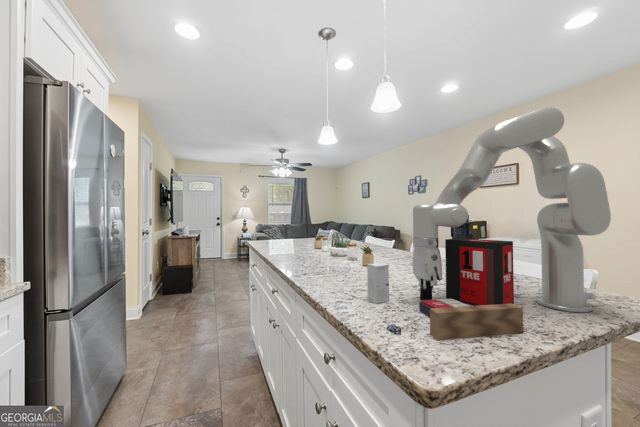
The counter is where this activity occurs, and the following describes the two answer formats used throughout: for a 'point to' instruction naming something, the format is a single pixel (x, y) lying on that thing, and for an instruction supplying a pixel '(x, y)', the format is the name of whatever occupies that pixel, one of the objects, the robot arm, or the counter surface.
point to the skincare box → (378, 282)
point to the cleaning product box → (479, 271)
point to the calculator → (438, 305)
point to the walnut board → (475, 321)
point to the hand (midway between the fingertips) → (426, 300)
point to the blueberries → (394, 329)
